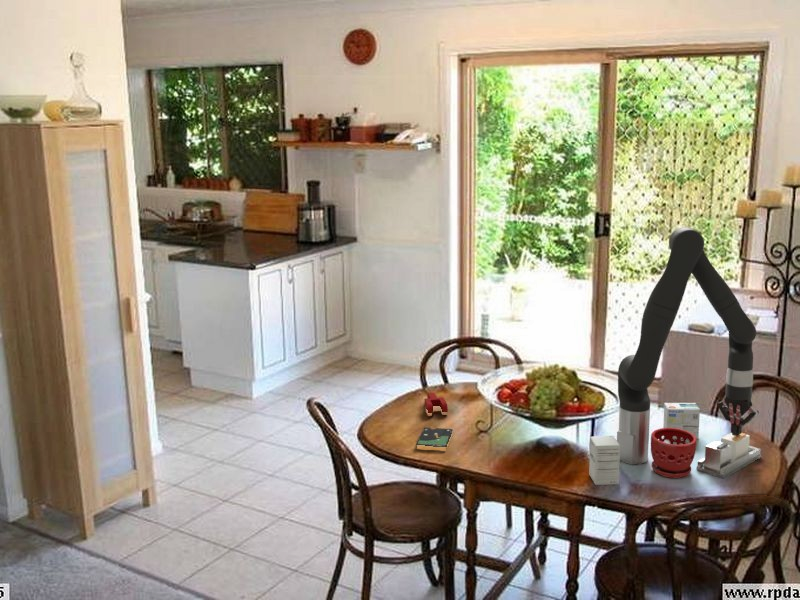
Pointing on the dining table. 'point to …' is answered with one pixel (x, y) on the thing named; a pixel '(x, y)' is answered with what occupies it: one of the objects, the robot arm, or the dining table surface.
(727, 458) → the din rail
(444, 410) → the toy lobster
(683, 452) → the plant pot
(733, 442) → the block
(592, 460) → the supplement box
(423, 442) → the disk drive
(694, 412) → the light bulb box
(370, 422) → the dining table surface
